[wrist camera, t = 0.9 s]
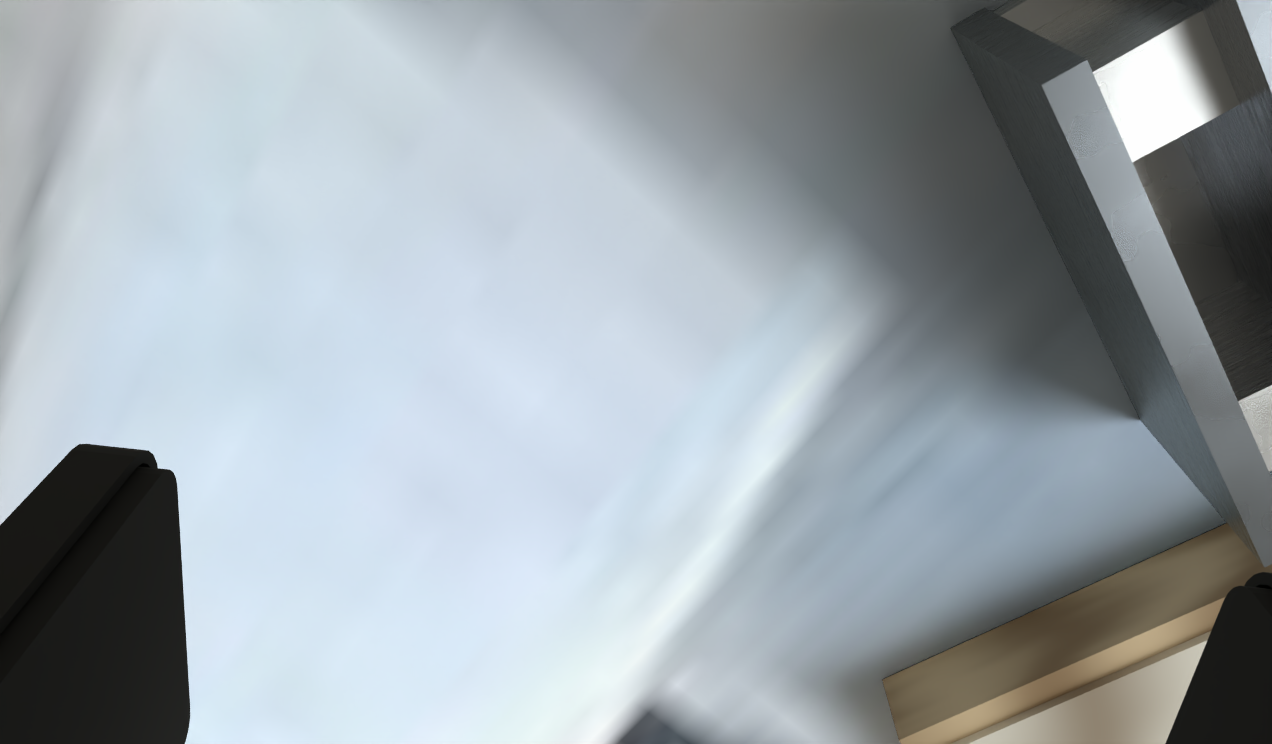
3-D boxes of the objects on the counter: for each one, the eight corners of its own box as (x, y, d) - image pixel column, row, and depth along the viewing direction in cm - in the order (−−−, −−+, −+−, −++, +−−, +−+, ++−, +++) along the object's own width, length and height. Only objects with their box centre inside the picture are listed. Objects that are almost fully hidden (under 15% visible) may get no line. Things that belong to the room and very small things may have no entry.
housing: (1125, -76, 30) (1277, -49, 23) (1297, 345, 35) (1467, 477, 28) (950, 27, 31) (1041, 85, 24) (1141, 421, 36) (1264, 567, 29)
